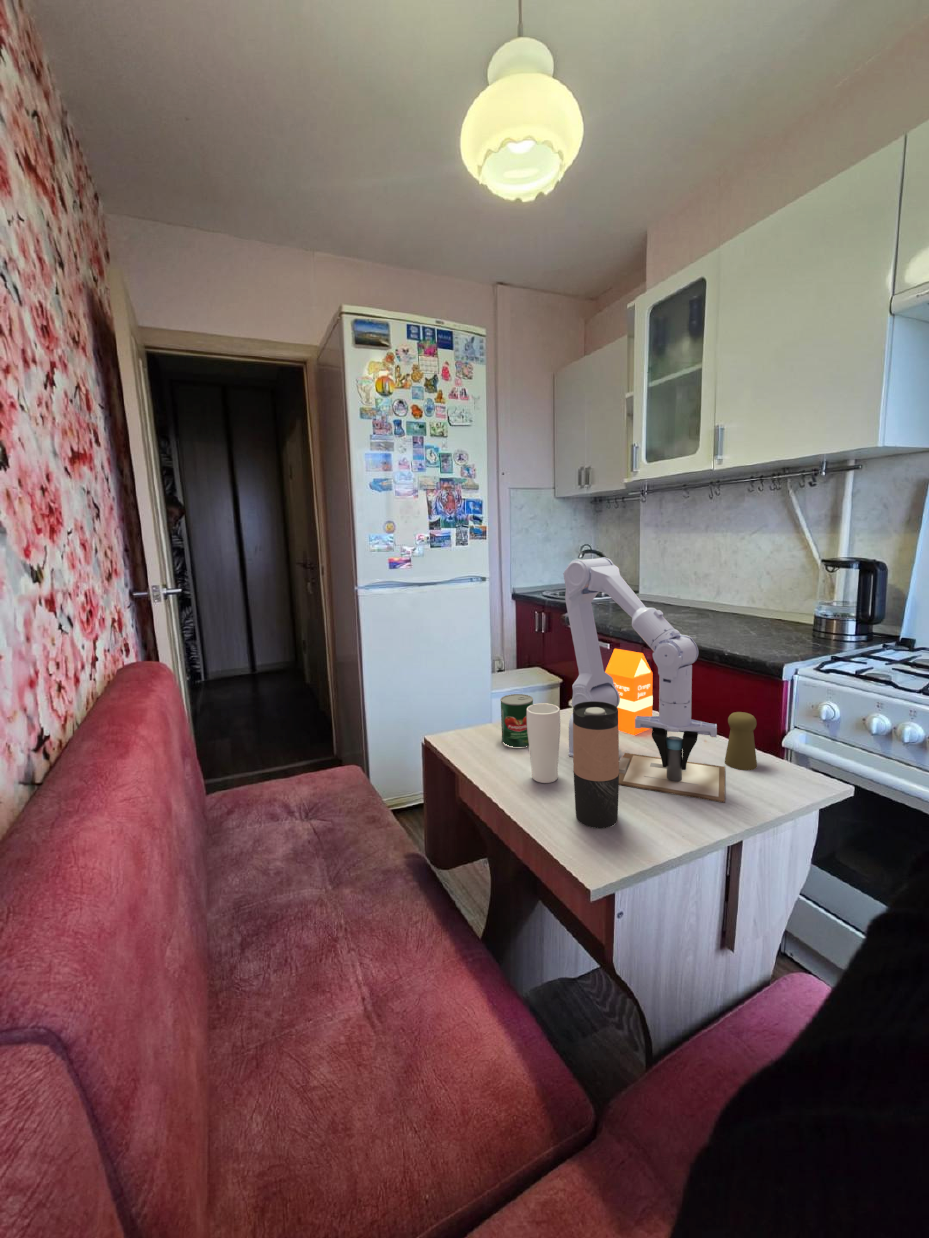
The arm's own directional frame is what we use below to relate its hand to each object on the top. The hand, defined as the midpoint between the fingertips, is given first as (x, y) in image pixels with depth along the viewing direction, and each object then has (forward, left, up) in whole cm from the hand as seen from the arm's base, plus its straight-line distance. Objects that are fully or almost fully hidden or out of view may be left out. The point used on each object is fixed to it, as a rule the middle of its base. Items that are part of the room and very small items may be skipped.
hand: (674, 766), depth 99 cm
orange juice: (-13, +28, -4) cm, 31 cm away
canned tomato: (-36, +9, -4) cm, 37 cm away
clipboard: (-1, +3, -3) cm, 5 cm away
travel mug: (-11, -18, -4) cm, 21 cm away
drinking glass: (-24, -7, -4) cm, 25 cm away
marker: (0, 0, -2) cm, 2 cm away
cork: (+12, +14, -4) cm, 19 cm away
